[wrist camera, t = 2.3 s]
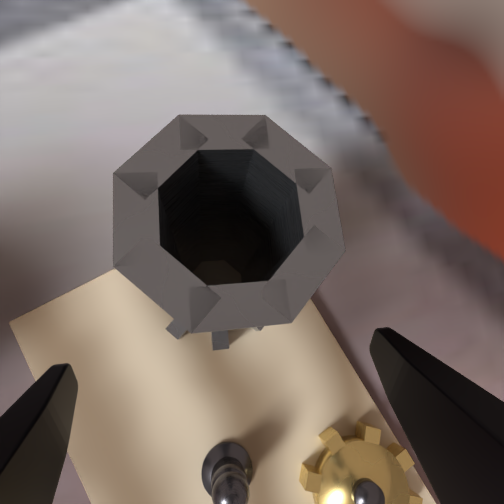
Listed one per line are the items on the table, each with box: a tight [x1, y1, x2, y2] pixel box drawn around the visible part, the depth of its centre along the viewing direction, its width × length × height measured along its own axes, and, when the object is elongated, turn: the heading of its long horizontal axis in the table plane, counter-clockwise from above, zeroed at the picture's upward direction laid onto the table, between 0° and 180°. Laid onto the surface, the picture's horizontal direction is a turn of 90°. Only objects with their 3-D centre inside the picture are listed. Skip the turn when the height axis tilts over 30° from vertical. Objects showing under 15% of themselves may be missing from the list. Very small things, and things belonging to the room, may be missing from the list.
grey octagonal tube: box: [113, 115, 346, 351], centre depth 14 cm, size 7×7×13 cm
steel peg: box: [201, 442, 253, 504], centre depth 16 cm, size 3×3×4 cm
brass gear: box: [299, 421, 423, 504], centre depth 18 cm, size 7×7×2 cm
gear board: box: [9, 260, 436, 504], centre depth 19 cm, size 16×25×1 cm, turn 31°
